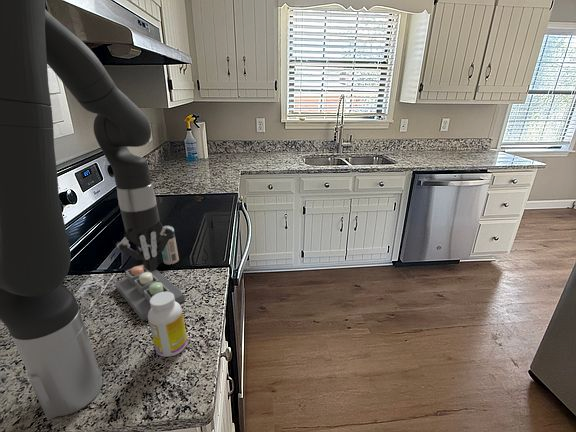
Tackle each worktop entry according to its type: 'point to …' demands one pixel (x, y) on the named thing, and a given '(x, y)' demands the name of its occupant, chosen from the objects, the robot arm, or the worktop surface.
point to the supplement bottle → (167, 324)
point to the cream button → (145, 278)
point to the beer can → (170, 249)
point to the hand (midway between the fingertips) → (152, 269)
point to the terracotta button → (137, 270)
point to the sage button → (155, 288)
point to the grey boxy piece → (144, 291)
